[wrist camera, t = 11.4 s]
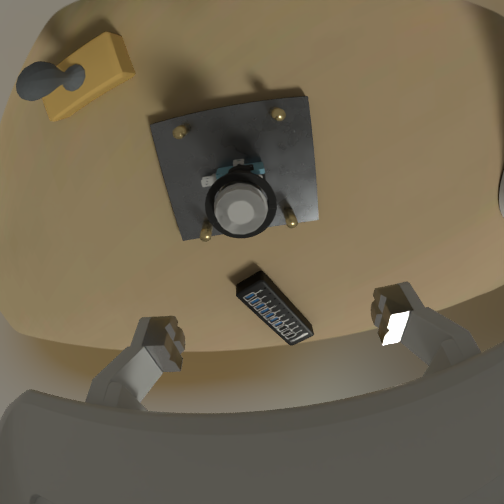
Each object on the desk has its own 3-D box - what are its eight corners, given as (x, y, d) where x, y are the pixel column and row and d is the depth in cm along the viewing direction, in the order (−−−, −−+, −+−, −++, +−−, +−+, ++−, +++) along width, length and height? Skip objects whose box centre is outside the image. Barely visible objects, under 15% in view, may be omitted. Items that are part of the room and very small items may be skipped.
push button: (208, 201, 29) (194, 251, 21) (198, 154, 26) (177, 186, 18) (269, 192, 29) (281, 240, 21) (263, 144, 26) (274, 172, 18)
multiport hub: (261, 267, 36) (262, 279, 34) (312, 324, 43) (314, 335, 41) (234, 283, 38) (234, 295, 36) (289, 335, 44) (290, 346, 42)
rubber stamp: (67, 118, 24) (-2, 143, 13) (54, 80, 20) (-17, 91, 10) (136, 75, 22) (75, 74, 12) (121, 34, 19) (58, 15, 9)
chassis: (305, 96, 24) (314, 96, 21) (316, 215, 32) (324, 230, 29) (152, 123, 25) (141, 128, 22) (184, 236, 33) (179, 252, 30)
